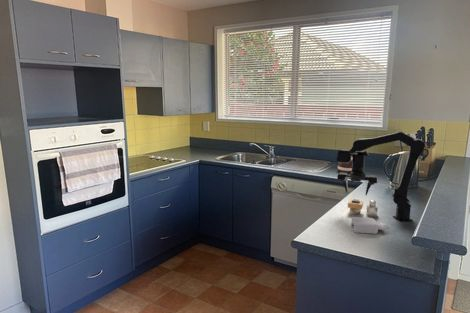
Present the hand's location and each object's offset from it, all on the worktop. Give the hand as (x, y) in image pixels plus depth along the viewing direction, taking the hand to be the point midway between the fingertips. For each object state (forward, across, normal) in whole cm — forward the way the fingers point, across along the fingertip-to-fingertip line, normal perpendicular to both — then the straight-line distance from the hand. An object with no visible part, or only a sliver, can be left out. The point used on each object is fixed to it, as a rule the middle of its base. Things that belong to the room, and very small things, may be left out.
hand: (356, 194), depth 171 cm
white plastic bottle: (+10, +9, -21) cm, 25 cm away
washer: (+6, 0, 0) cm, 6 cm away
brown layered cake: (+10, -19, +101) cm, 103 cm away
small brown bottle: (+10, 0, 0) cm, 10 cm away
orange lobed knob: (+10, +8, 0) cm, 13 cm away
